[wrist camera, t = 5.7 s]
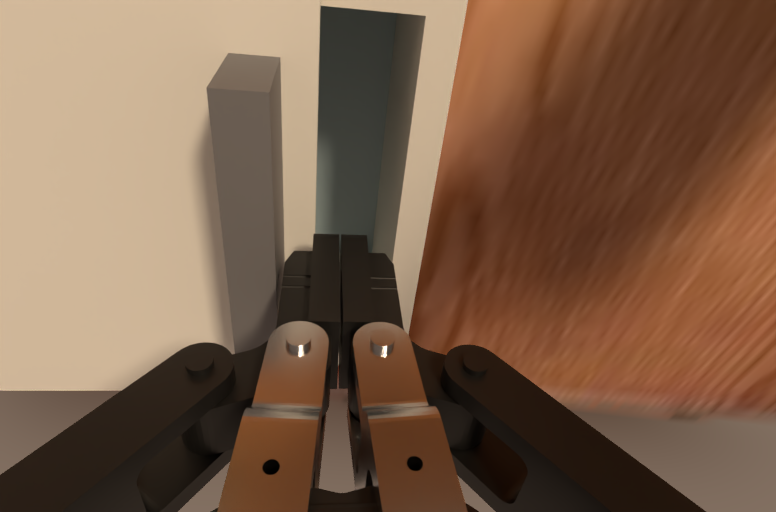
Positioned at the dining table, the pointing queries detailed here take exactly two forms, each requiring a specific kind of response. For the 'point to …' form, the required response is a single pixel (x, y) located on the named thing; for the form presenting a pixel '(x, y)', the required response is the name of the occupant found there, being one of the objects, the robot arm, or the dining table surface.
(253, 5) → the lid
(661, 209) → the dining table surface
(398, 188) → the base
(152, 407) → the robot arm
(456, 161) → the dining table surface
